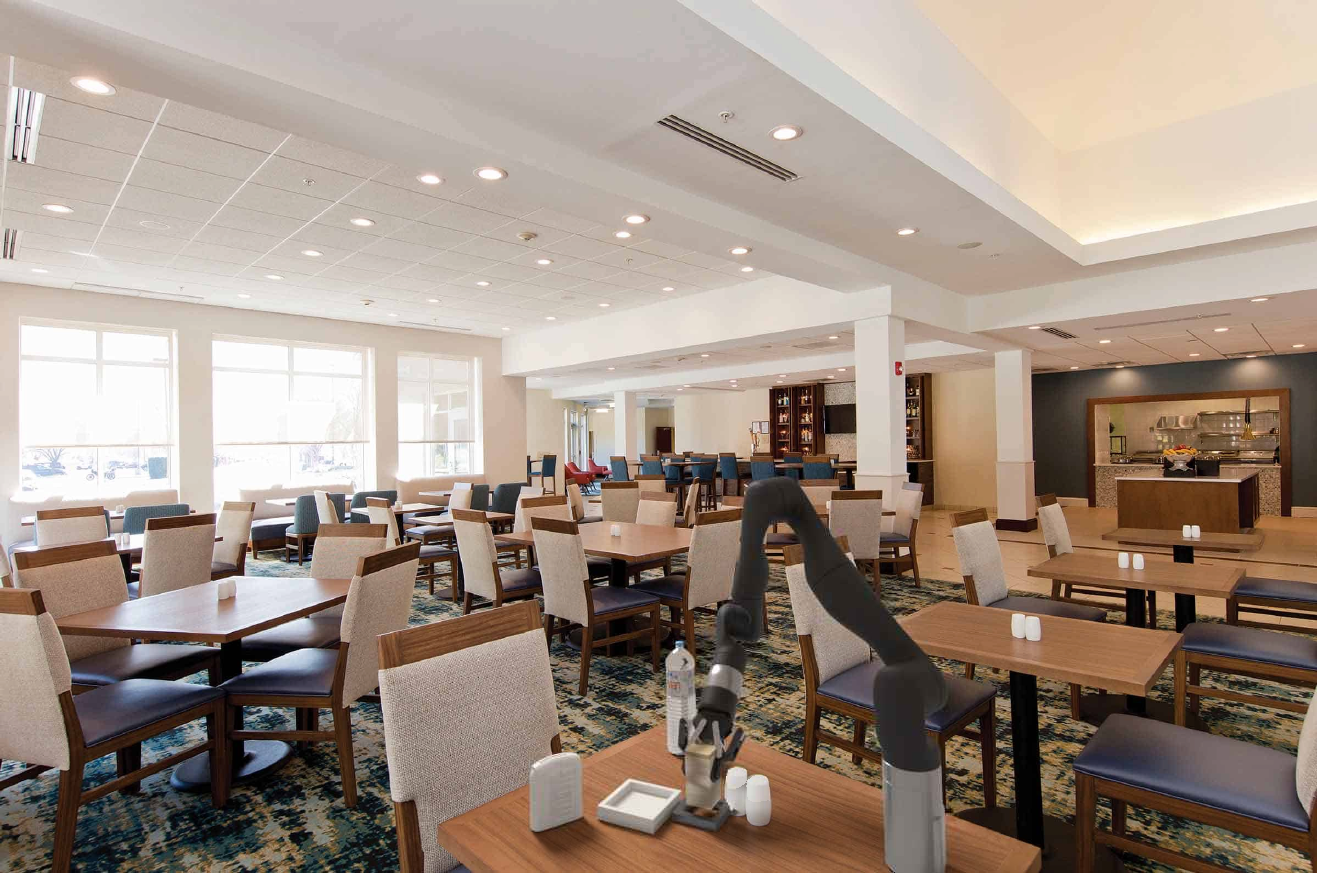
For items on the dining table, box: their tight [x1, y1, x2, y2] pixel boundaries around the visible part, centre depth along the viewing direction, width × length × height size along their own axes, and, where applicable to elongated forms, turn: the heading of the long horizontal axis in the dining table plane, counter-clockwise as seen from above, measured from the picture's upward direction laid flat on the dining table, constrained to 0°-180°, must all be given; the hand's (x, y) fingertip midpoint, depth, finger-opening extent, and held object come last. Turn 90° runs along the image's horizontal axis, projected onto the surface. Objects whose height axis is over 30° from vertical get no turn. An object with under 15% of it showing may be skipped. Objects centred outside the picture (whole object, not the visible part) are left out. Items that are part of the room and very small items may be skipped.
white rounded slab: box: [529, 751, 583, 833], centre depth 128 cm, size 10×4×12 cm, turn 123°
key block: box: [685, 742, 722, 811], centre depth 129 cm, size 5×5×10 cm
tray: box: [596, 778, 683, 835], centre depth 131 cm, size 12×12×2 cm
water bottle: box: [664, 640, 697, 756], centre depth 158 cm, size 7×7×25 cm
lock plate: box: [671, 797, 732, 833], centre depth 129 cm, size 9×9×2 cm
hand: (699, 777), depth 128 cm, fingers closed on key block, 5 cm apart
